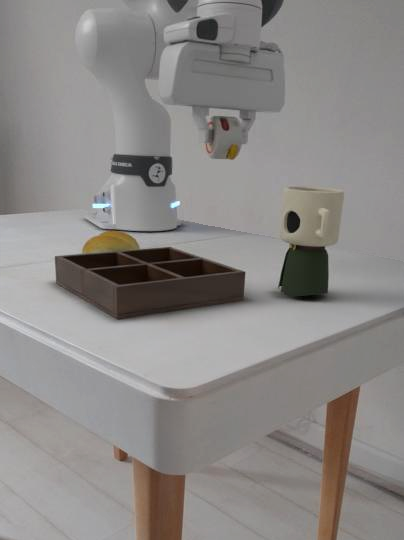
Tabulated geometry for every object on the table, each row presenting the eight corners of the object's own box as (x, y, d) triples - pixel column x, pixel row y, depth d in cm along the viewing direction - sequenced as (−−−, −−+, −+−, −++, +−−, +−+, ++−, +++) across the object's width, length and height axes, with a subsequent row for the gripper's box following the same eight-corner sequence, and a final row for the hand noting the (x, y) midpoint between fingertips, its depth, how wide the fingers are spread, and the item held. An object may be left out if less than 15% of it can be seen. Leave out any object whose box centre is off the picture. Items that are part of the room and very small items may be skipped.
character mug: (264, 284, 76) (273, 184, 72) (314, 284, 78) (326, 186, 73) (287, 307, 66) (299, 192, 62) (345, 306, 68) (361, 194, 63)
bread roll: (75, 261, 85) (74, 234, 83) (99, 251, 93) (98, 226, 91) (126, 266, 83) (126, 239, 81) (147, 255, 91) (147, 230, 89)
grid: (55, 283, 72) (54, 255, 71) (169, 270, 81) (170, 246, 80) (116, 319, 59) (116, 287, 58) (243, 300, 68) (245, 271, 67)
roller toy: (230, 158, 86) (232, 117, 84) (245, 160, 81) (248, 116, 78) (202, 157, 85) (204, 116, 83) (216, 159, 79) (218, 114, 77)
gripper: (269, 47, 85) (262, 145, 90) (152, 27, 74) (152, 140, 79) (299, 42, 80) (290, 146, 85) (179, 20, 69) (176, 141, 74)
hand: (222, 143), depth 82 cm, fingers closed on roller toy, 5 cm apart
